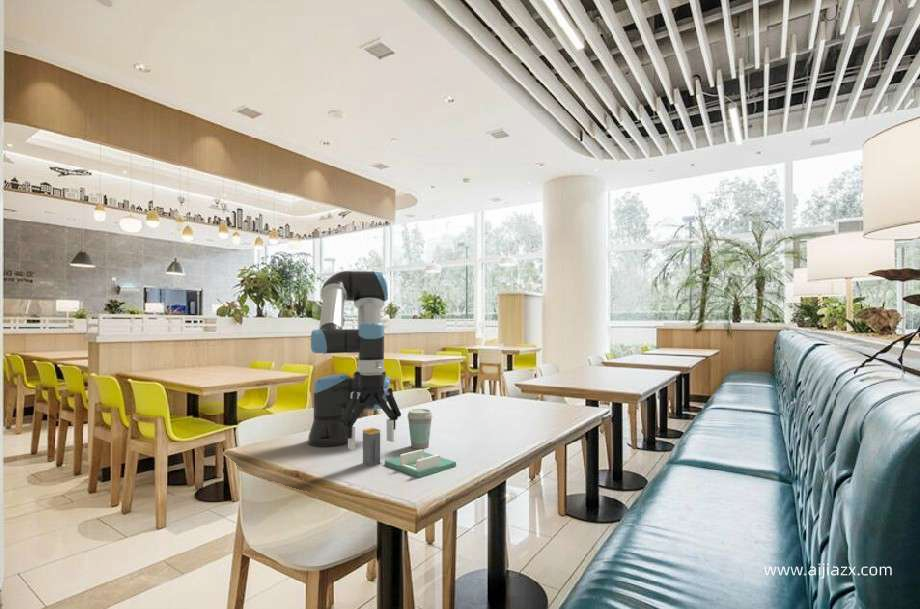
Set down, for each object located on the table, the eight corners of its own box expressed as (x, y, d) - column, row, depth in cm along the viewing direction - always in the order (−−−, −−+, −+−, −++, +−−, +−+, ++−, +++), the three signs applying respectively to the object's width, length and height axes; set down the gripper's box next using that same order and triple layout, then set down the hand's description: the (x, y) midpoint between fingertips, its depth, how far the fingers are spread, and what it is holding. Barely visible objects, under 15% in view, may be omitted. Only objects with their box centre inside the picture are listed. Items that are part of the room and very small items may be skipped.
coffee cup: (428, 450, 153) (428, 413, 153) (403, 449, 155) (403, 413, 155) (435, 443, 161) (435, 409, 162) (411, 442, 163) (411, 408, 163)
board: (384, 464, 138) (384, 450, 138) (421, 455, 148) (421, 441, 148) (418, 477, 127) (418, 462, 127) (456, 466, 137) (456, 451, 137)
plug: (362, 463, 140) (362, 429, 140) (372, 460, 142) (372, 427, 143) (371, 466, 137) (371, 432, 137) (381, 463, 139) (381, 430, 139)
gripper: (340, 377, 129) (340, 455, 128) (411, 371, 147) (412, 439, 146) (327, 376, 135) (327, 450, 134) (397, 370, 152) (397, 436, 151)
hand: (371, 445), depth 140 cm, fingers open, 13 cm apart
